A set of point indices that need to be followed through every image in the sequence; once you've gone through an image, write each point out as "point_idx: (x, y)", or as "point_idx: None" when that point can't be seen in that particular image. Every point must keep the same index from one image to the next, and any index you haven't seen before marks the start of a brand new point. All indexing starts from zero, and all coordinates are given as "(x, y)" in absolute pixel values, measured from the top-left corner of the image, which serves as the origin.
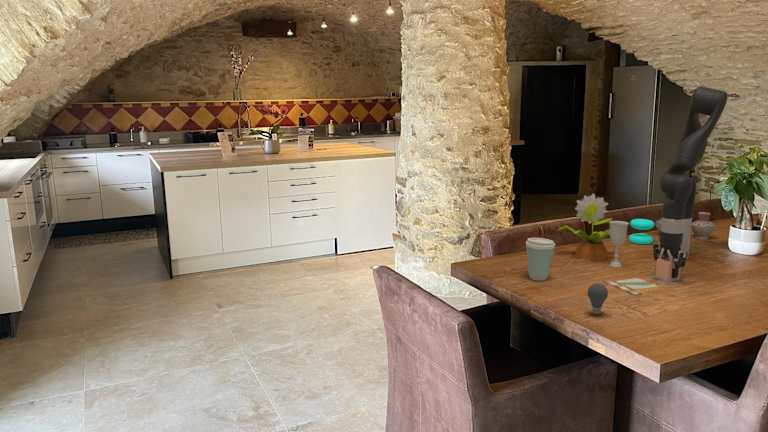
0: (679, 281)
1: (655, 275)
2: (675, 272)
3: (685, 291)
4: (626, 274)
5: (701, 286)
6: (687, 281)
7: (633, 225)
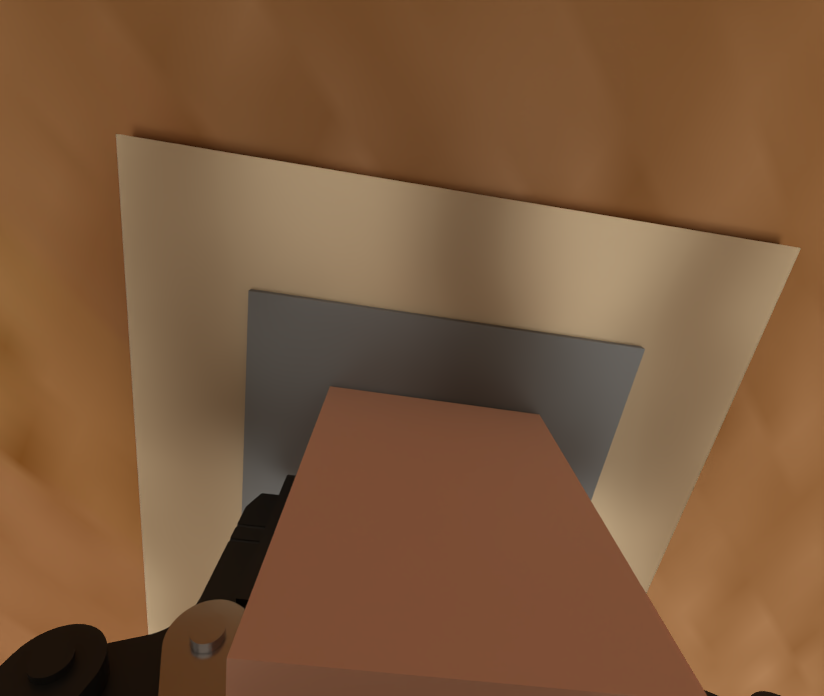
0: (567, 453)
1: (253, 495)
2: None
3: (723, 577)
4: (52, 622)
5: (791, 307)
6: (633, 373)
7: None
